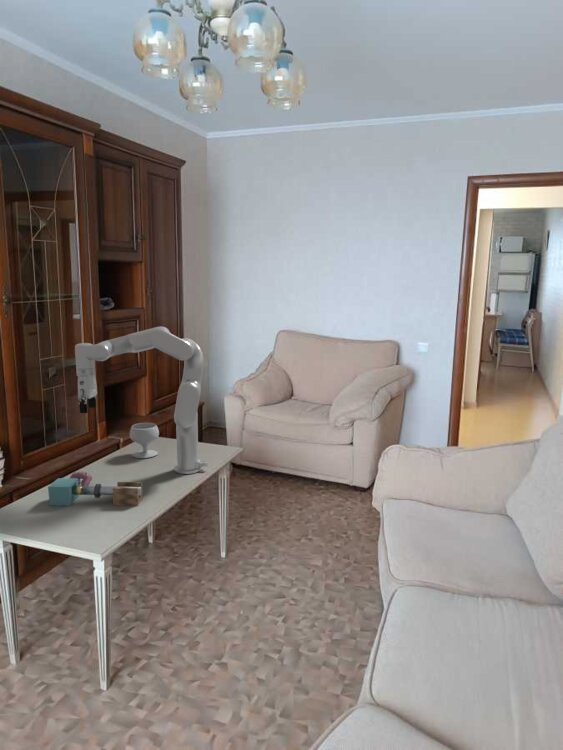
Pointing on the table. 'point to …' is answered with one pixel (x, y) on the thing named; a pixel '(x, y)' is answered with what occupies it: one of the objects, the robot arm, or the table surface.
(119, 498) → the wooden cradle block
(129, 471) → the table surface
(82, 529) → the table surface
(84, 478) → the video game controller
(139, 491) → the rod
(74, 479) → the socket block
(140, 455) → the chalice
